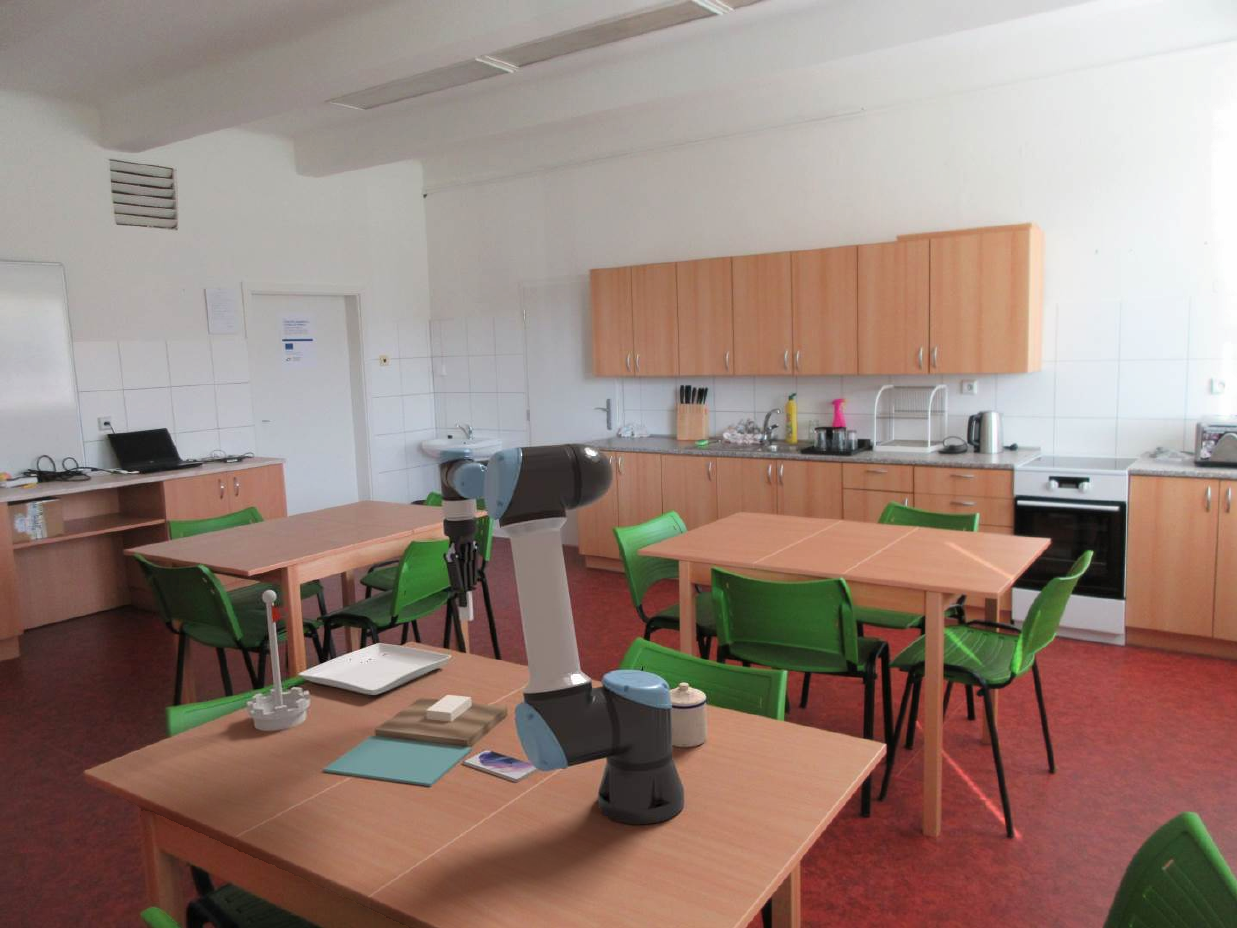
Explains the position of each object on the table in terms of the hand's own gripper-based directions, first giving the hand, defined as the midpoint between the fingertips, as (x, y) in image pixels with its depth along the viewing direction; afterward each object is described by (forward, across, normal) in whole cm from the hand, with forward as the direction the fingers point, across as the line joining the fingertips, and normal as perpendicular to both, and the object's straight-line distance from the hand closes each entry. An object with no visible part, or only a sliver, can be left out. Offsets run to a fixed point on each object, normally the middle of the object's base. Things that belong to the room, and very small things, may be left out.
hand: (466, 619), depth 209 cm
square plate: (+21, -11, -33) cm, 40 cm away
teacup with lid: (+20, +6, +51) cm, 55 cm away
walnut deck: (+20, +13, 0) cm, 24 cm away
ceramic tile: (+18, +10, 0) cm, 21 cm away
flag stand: (+20, +19, -38) cm, 47 cm away
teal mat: (+20, +30, 0) cm, 36 cm away
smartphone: (+20, +27, +21) cm, 40 cm away
